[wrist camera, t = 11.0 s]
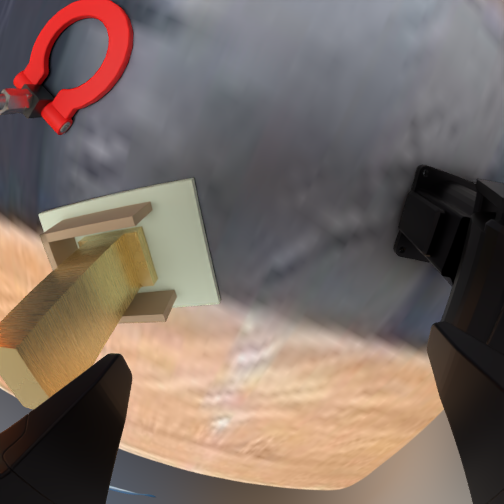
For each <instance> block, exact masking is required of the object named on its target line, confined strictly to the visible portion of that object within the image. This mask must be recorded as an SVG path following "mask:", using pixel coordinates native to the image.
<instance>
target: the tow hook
mask: <svg viewBox="0 0 504 504" xmlns="http://www.w3.org/2000/svg"><path fill="white" fill-rule="evenodd" d="M84 18H95V19H99V20H100V21H102V22H103V24H104V25H105V27H106V28H107V31H108V36H109V46H108V50H107V54H106V57H105V59H104V61H103V63H102V65H101V67H100V68H99V70H98V71H97V72H96V73H95V75H94V76H93V77H92V78H90V79H89V80H88V81H87V82H86V83H84V84H82V85H81V86H79V87H76V88H73V89H62V90H61V91H59V93H58V94H57V96H56V97H55V98H53V96H52V95H51V94H50V93H49V92H48V91H47V90H46V89H45V88H44V87H43V86H42V85H41V84H42V83H43V81H44V80H45V78H46V77H47V75H48V73H49V68H48V63H49V55H50V51H51V48H52V46H53V44H54V42H55V40H56V39H57V38H58V36H59V35H60V34H61V32H62V31H63V30H65V29H66V28H67V27H68V26H69V25H71V24H72V23H74V22H76V21H78V20H81V19H84ZM132 48H133V29H132V26H131V22H130V19H129V17H128V16H127V14H126V13H125V11H124V10H123V9H122V8H121V7H119V6H118V5H116V4H115V3H113V2H112V1H110V0H79V1H76V2H73V3H71V4H70V5H68V6H66V7H65V8H63V9H62V10H60V11H59V12H58V13H57V14H56V15H54V16H53V17H52V18H51V19H50V20H49V21H48V23H47V24H46V25H45V27H44V28H43V29H42V31H41V32H40V34H39V36H38V38H37V40H36V42H35V44H34V46H33V49H32V53H31V57H30V62H29V64H28V66H27V67H26V69H25V70H24V71H22V72H20V73H19V74H18V75H17V76H16V77H15V79H14V82H13V83H14V85H15V86H16V87H17V89H3V90H2V91H1V92H0V115H5V114H15V113H23V114H24V115H25V117H26V118H37V117H43V118H44V119H45V121H46V122H47V123H48V124H49V125H50V126H51V127H52V128H53V129H54V131H55V132H56V133H57V134H58V135H62V134H63V133H65V132H66V131H67V130H68V129H69V128H70V126H71V125H72V122H73V120H72V119H71V118H72V117H73V115H74V114H75V113H76V111H77V110H78V109H81V108H85V107H87V106H89V105H91V104H93V103H95V102H97V101H98V100H99V99H100V98H102V97H103V96H104V95H105V94H106V93H108V92H109V91H110V90H111V89H112V87H113V86H114V85H115V84H116V82H117V81H118V80H119V79H120V77H121V75H122V74H123V72H124V70H125V68H126V66H127V64H128V62H129V58H130V55H131V51H132Z"/></svg>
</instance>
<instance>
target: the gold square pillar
mask: <svg viewBox="0 0 504 504" xmlns="http://www.w3.org/2000/svg"><path fill="white" fill-rule="evenodd" d="M78 245H79V247H80V248H78V249H77V250H76V251H75V252H74V253H73V254H71V255H70V256H69V257H68V258H67V259H66V260H65V261H63V262H62V263H61V264H60V265H59V266H58V267H57V268H56V269H55V270H53V271H52V272H51V273H50V274H49V275H48V276H47V277H46V278H45V279H44V280H43V281H41V282H40V283H39V284H38V285H37V286H36V287H35V288H34V289H33V290H32V291H31V292H30V293H29V294H28V295H27V296H26V297H25V298H24V299H23V300H22V301H21V302H20V303H19V304H18V305H17V306H16V307H15V308H14V309H13V310H12V311H11V312H10V313H9V314H8V315H7V316H6V317H5V318H4V319H3V320H2V321H1V322H0V375H1V377H2V378H3V380H4V381H5V383H6V384H7V385H8V387H9V388H10V389H11V391H12V392H13V393H14V395H15V396H16V397H17V399H18V400H19V401H20V402H21V404H22V405H23V406H24V407H27V408H30V409H35V408H36V407H38V406H39V405H40V404H42V403H43V402H44V401H46V400H47V399H48V398H50V397H51V396H52V395H54V394H55V393H56V392H58V391H59V390H60V389H62V388H63V387H64V386H66V385H67V384H68V383H70V382H71V381H72V380H74V379H75V378H76V377H78V376H79V375H80V374H82V373H83V372H84V371H86V370H87V369H88V368H90V367H91V366H92V365H93V364H94V362H95V360H96V359H97V357H98V355H99V354H100V352H101V350H102V349H103V347H104V345H105V344H106V342H107V340H108V339H109V337H110V335H111V334H112V332H113V330H114V329H115V327H116V326H117V324H118V322H119V321H120V319H121V318H122V316H123V314H124V313H125V311H126V310H127V308H128V306H129V305H130V303H131V302H132V300H133V299H134V297H135V296H136V294H137V293H138V291H139V289H140V288H141V287H145V286H154V285H155V283H156V281H157V280H158V276H157V273H156V270H155V267H154V264H153V261H152V257H151V254H150V251H149V247H148V244H147V241H146V237H145V234H144V230H143V227H142V226H140V227H134V228H129V229H123V230H118V231H112V232H107V233H102V234H96V235H91V236H86V237H84V238H82V239H81V240H80V241H79V242H78Z"/></svg>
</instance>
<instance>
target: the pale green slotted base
mask: <svg viewBox="0 0 504 504" xmlns="http://www.w3.org/2000/svg"><path fill="white" fill-rule="evenodd" d="M39 218H40V221H41V224H42V227H43V230H44V233H42V234H41V235H40V237H41V240H42V243H43V246H44V249H45V252H46V254H47V257H48V260H49V262H50V265H51V267H52V270H55V269H56V268H57V267H58V266H59V265H60V264H61V263H62V262H63V261H65V260H66V259H67V258H68V257H69V256H70V255H71V254H73V253H74V252H75V251H76V250H77V249H78V248H80V247H79V245H78V242H79V241H80V240H81V239H82V238H84V237H86V236H91V235H96V234H102V233H107V232H112V231H118V230H123V229H129V228H134V227H140V226H142V227H143V230H144V234H145V237H146V241H147V244H148V247H149V251H150V254H151V257H152V261H153V264H154V267H155V270H156V273H157V276H158V280H157V281H156V283H155V285H154V286H145V287H141V288H140V289H139V291H138V293H137V294H136V296H135V297H134V299H133V300H132V302H131V303H130V305H129V306H128V308H127V310H126V311H125V313H124V314H123V316H122V318H121V319H120V321H119V322H118V323H147V322H166V320H167V318H168V315H169V313H170V311H171V309H172V308H173V307H187V306H201V305H213V304H220V300H221V299H220V295H219V291H218V286H217V282H216V278H215V274H214V269H213V265H212V260H211V256H210V252H209V247H208V243H207V238H206V234H205V229H204V224H203V220H202V215H201V210H200V206H199V201H198V196H197V191H196V186H195V181H194V178H188V179H183V180H177V181H172V182H167V183H161V184H156V185H151V186H147V187H142V188H137V189H132V190H128V191H123V192H119V193H114V194H110V195H106V196H102V197H98V198H93V199H89V200H85V201H81V202H77V203H74V204H70V205H66V206H62V207H59V208H55V209H51V210H48V211H44V212H42V213H40V214H39Z"/></svg>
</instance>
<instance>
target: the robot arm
mask: <svg viewBox="0 0 504 504" xmlns="http://www.w3.org/2000/svg"><path fill="white" fill-rule="evenodd" d="M425 169H426V175H424V176H423V171H424V170H425ZM399 229H400V230H399V233H398V236H397V239H396V242H395V245H394V251H395V253H396V254H397V255H398V256H400V257H405V258H410V259H415V260H420V261H425V262H430V263H431V264H432V265H433V266H434V267H435V268H436V269H437V270H438V271H439V273H440V274H441V275H442V276H443V277H444V278H445V279H446V280H447V281H448V283H449V284H450V285H451V286H452V290H451V293H450V296H449V299H448V302H447V305H446V308H445V311H444V314H443V316H442V319H441V322H438V323H434V324H433V325H432V327H431V331H430V335H429V340H428V344H427V353H428V356H429V360H430V363H431V367H432V370H433V374H434V377H435V381H436V385H437V389H438V392H439V396H440V399H441V402H442V404H443V407H444V410H445V413H446V415H447V418H448V421H449V424H450V427H451V430H452V432H453V436H454V439H455V442H456V445H457V448H458V451H459V454H460V458H461V461H462V464H463V468H464V471H465V475H466V478H467V482H468V486H469V490H470V494H471V497H472V502H473V504H504V184H503V183H498V182H493V181H487V180H482V179H477V182H476V184H475V183H472V182H470V181H467V180H465V179H462V178H460V177H457V176H454V175H452V174H449V173H446V172H444V171H441V170H438V169H435V168H433V167H430V166H427V165H420V166H419V167H418V169H417V172H416V176H415V180H414V184H413V187H412V191H411V192H410V193H409V194H408V197H407V201H406V204H405V208H404V211H403V214H402V217H401V221H400V224H399ZM400 247H403V249H402V250H401V251H399V249H400ZM131 384H132V373H131V371H130V369H129V367H128V365H127V363H126V361H125V359H124V357H123V356H122V355H121V354H114V353H110V354H107V355H106V356H105V357H103V358H102V359H101V360H99V361H98V362H97V363H95V364H94V365H93V366H91V367H90V368H88V369H87V370H86V371H84V372H83V373H82V374H80V375H79V376H78V377H76V378H75V379H74V380H72V381H71V382H70V383H68V384H67V385H66V386H64V387H63V388H62V389H60V390H59V391H58V392H56V393H55V394H54V395H52V396H51V397H50V398H48V399H47V400H46V401H44V402H43V403H42V404H40V405H39V406H38V407H36V408H35V409H34V410H33V411H31V412H30V413H29V415H28V414H27V415H26V416H24V417H23V418H22V419H20V420H19V421H18V422H16V423H15V424H13V425H12V426H11V427H9V428H8V429H6V430H5V431H3V432H2V433H0V504H106V499H107V494H108V490H109V485H110V481H111V476H112V472H113V468H114V464H115V460H116V455H117V451H118V447H119V444H120V440H121V436H122V432H123V428H124V424H125V420H126V414H127V408H128V402H129V396H130V390H131Z"/></svg>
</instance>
